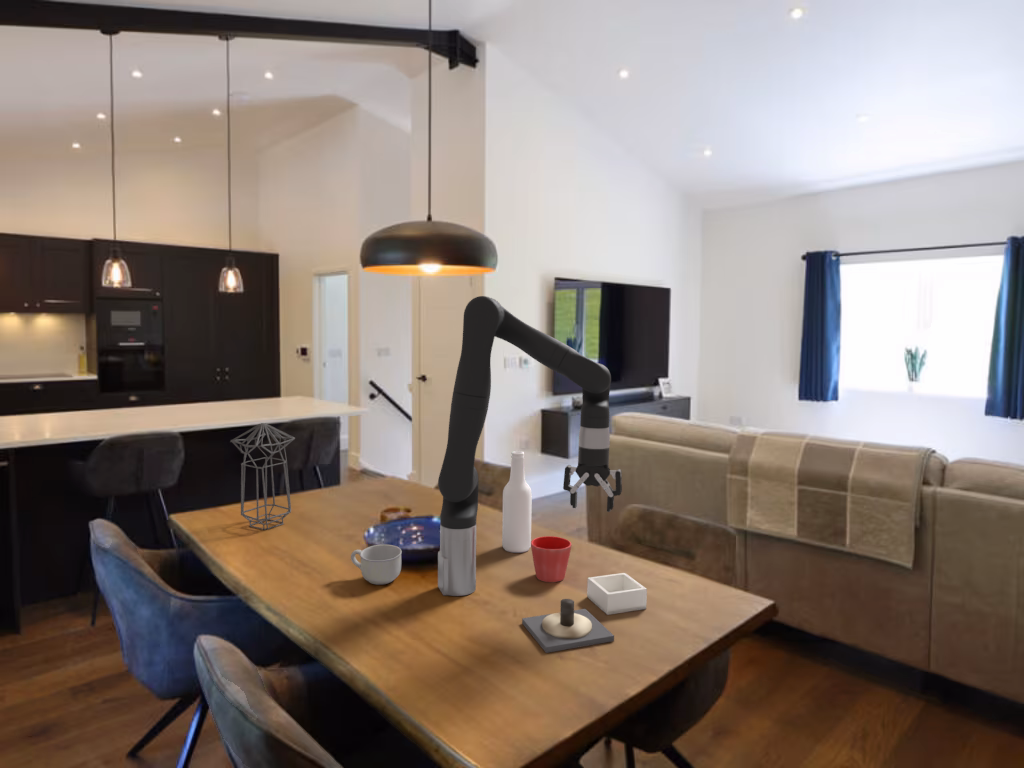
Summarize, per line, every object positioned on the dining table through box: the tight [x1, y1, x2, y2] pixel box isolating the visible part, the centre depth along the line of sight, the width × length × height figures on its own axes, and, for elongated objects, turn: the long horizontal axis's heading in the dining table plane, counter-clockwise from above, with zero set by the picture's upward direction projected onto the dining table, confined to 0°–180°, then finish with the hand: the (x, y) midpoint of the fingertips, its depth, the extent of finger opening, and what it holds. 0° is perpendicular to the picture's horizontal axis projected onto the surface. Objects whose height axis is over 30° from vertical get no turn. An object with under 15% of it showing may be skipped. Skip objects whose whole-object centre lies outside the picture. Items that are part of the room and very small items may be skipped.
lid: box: [542, 598, 592, 639], centre depth 141 cm, size 11×11×6 cm
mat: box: [521, 608, 615, 654], centre depth 141 cm, size 16×14×1 cm
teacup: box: [350, 544, 403, 586], centre depth 169 cm, size 14×11×8 cm
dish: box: [586, 572, 648, 616], centre depth 157 cm, size 11×11×5 cm
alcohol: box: [501, 450, 533, 554], centre depth 194 cm, size 9×9×30 cm
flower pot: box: [530, 535, 572, 583], centre depth 172 cm, size 11×11×10 cm
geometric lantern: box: [229, 422, 296, 531], centre depth 212 cm, size 16×16×35 cm
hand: (591, 509), depth 158 cm, fingers open, 8 cm apart
